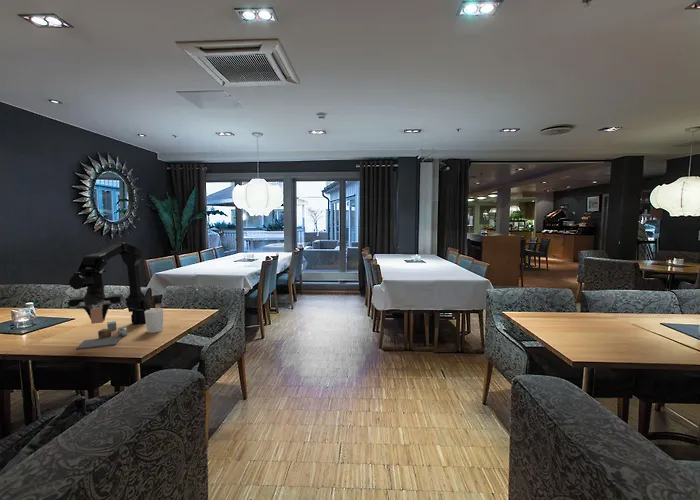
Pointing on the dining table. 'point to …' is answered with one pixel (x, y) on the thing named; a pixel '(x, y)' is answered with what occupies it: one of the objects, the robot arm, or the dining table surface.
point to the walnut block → (104, 333)
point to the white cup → (154, 320)
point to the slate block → (111, 325)
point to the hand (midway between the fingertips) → (98, 319)
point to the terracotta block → (97, 315)
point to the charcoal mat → (99, 342)
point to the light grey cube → (122, 331)
